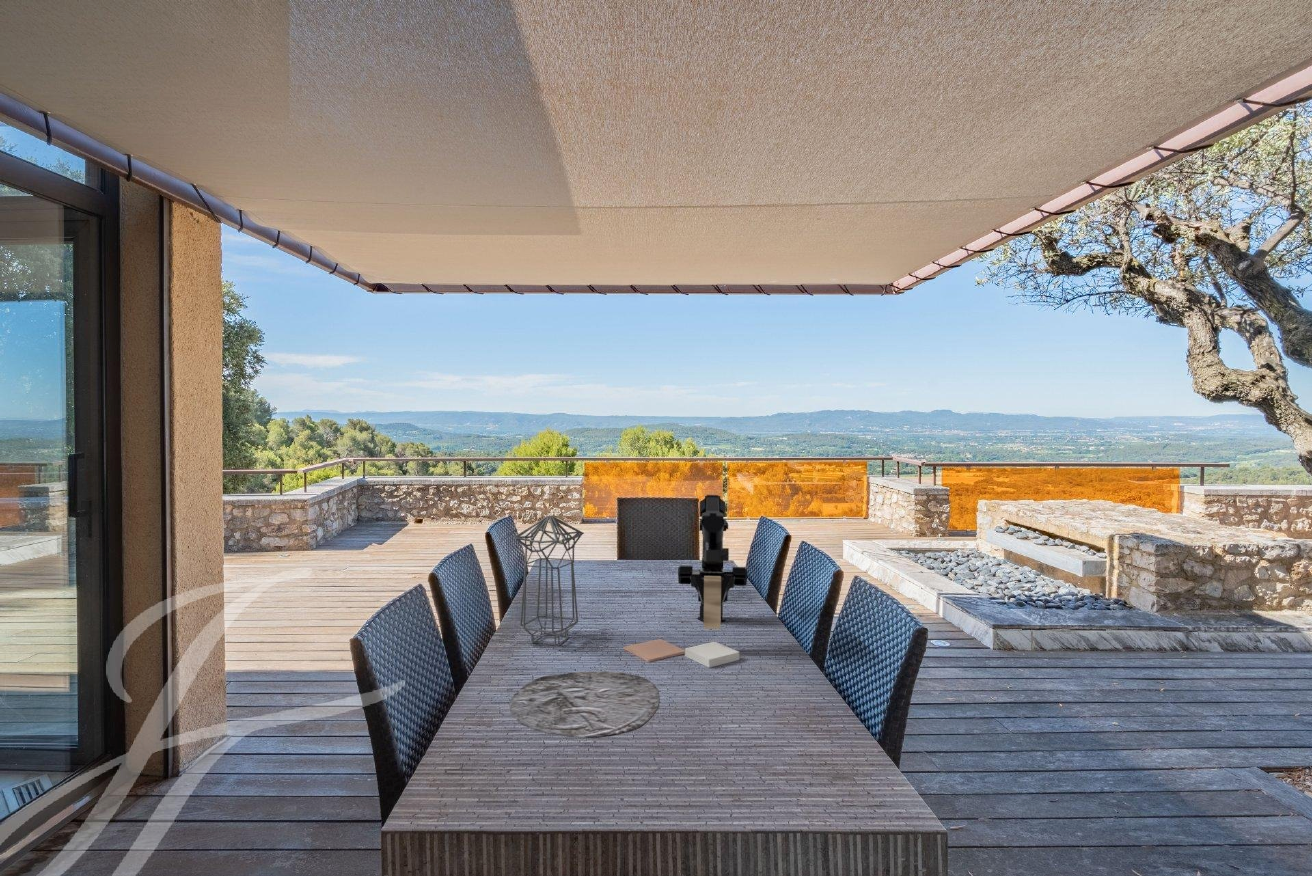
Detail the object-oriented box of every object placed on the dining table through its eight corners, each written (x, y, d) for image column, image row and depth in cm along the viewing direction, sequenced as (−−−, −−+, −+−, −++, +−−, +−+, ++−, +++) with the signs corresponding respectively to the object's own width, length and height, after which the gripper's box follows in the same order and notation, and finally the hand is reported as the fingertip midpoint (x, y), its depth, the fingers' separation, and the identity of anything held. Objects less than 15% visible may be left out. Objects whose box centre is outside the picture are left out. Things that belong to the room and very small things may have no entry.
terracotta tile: (660, 640, 190) (660, 638, 190) (686, 653, 180) (686, 650, 180) (623, 648, 183) (623, 646, 183) (648, 662, 173) (648, 659, 173)
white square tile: (714, 648, 184) (714, 641, 184) (739, 659, 175) (739, 652, 175) (684, 655, 178) (685, 648, 178) (709, 667, 170) (709, 659, 170)
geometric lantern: (561, 652, 180) (562, 521, 179) (509, 645, 185) (510, 517, 184) (586, 634, 195) (587, 513, 194) (538, 629, 200) (538, 510, 199)
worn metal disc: (515, 748, 128) (515, 746, 128) (505, 679, 162) (505, 678, 162) (684, 728, 137) (684, 726, 137) (641, 667, 170) (641, 665, 170)
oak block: (703, 623, 185) (704, 575, 184) (720, 623, 184) (720, 576, 184) (703, 628, 180) (704, 580, 180) (720, 629, 180) (721, 580, 179)
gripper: (678, 536, 186) (676, 586, 176) (747, 537, 185) (749, 588, 174) (679, 558, 194) (677, 608, 184) (745, 560, 193) (747, 610, 182)
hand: (712, 603), depth 181 cm, fingers closed on oak block, 4 cm apart
